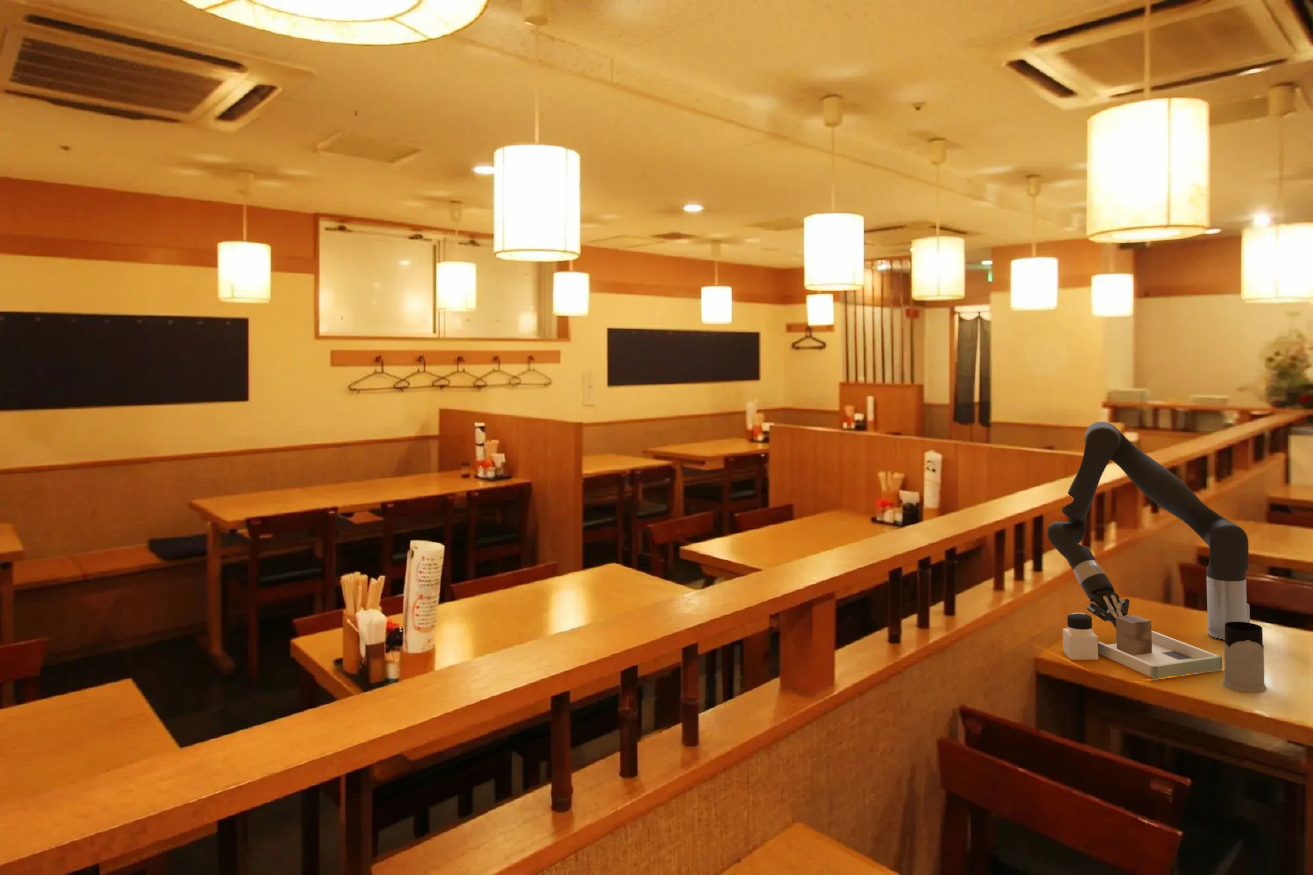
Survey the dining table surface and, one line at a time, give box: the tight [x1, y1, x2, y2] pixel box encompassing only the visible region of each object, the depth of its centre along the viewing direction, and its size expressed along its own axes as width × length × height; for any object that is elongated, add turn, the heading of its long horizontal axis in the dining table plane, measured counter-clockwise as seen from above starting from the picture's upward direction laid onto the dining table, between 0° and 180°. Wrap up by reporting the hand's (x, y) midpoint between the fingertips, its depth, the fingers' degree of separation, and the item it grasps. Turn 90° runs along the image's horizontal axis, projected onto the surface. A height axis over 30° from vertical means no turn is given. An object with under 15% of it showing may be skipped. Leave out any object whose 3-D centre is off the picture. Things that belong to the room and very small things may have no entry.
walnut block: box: [1115, 614, 1153, 655], centre depth 225 cm, size 6×6×9 cm
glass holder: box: [1222, 621, 1267, 694], centre depth 201 cm, size 9×14×15 cm, turn 157°
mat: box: [1163, 651, 1191, 660], centre depth 220 cm, size 4×6×1 cm, turn 10°
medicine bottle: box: [1062, 612, 1099, 662], centre depth 225 cm, size 7×7×12 cm
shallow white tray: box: [1098, 630, 1223, 681], centre depth 220 cm, size 20×25×4 cm
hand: (1124, 632), depth 229 cm, fingers closed
